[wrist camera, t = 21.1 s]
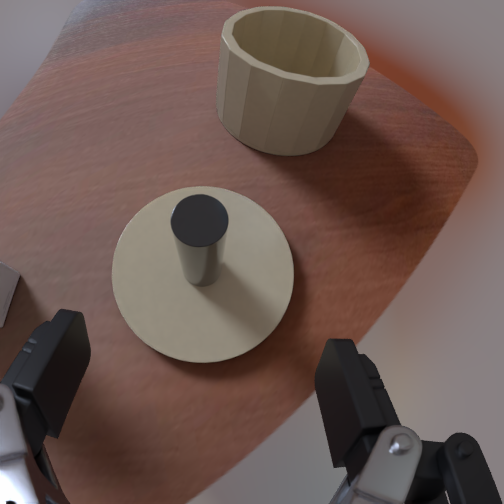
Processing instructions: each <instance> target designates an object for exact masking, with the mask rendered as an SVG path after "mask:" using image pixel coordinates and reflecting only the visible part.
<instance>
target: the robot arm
mask: <svg viewBox="0 0 504 504" xmlns="http://www.w3.org/2000/svg"><path fill="white" fill-rule="evenodd" d="M90 356H91V348H90V343H89V339H88V334H87V329H86V325H85V320H84V316H83V314H82V313H81V312H77V311H72V310H66V309H60V310H59V311H58V312H57V313H56V315H55V316H54V318H53V319H52V321H51V322H50V321H45V322H44V323H43V324H41V325H40V326H39V327H37V328H36V329H35V330H34V331H33V333H32V334H31V336H30V337H29V339H28V342H26V343H25V345H24V346H23V348H22V351H20V352H19V354H18V355H17V357H16V358H15V360H14V361H13V363H12V364H11V366H10V368H9V369H8V371H7V373H6V374H5V376H4V377H3V379H2V381H1V382H0V504H70V502H69V501H68V500H67V498H66V496H65V495H64V493H63V491H62V489H61V486H60V484H59V482H58V479H57V477H56V474H55V472H54V469H53V467H52V464H51V462H50V459H49V456H48V453H47V451H46V448H45V445H44V443H43V442H44V439H45V437H46V435H48V436H51V437H54V438H57V439H58V437H59V434H60V432H61V429H62V426H63V424H64V421H65V419H66V416H67V414H68V411H69V409H70V406H71V404H72V401H73V399H74V397H75V394H76V392H77V389H78V387H79V385H80V383H81V380H82V378H83V376H84V373H85V371H86V369H87V367H88V364H89V361H90ZM315 390H316V394H317V398H318V402H319V406H320V410H321V414H322V419H323V423H324V427H325V432H326V436H327V440H328V445H329V449H330V453H331V458H332V462H333V467H334V468H337V467H346V470H347V475H346V476H345V478H344V479H343V481H342V483H341V485H340V486H339V488H338V490H337V491H336V493H335V495H334V496H333V498H332V499H331V501H330V503H329V504H449V503H448V500H447V497H446V494H445V491H447V493H448V497H449V500H450V503H451V504H502V501H501V498H500V496H499V493H498V490H497V487H496V485H495V482H494V480H493V478H492V475H491V472H490V470H489V467H488V465H487V463H486V460H485V458H484V455H483V453H482V451H481V449H480V446H479V444H478V443H477V441H476V440H475V439H474V438H473V437H471V436H470V435H468V434H466V433H455V434H453V435H451V436H450V437H449V438H448V439H447V440H446V441H445V442H433V441H424V440H420V438H419V436H418V435H417V434H416V433H415V432H414V431H413V430H411V429H410V428H408V427H405V426H401V424H400V421H399V419H398V417H397V414H396V412H395V409H394V407H393V405H392V402H391V400H390V398H389V395H388V393H387V391H386V389H384V384H383V382H382V379H380V375H379V373H378V370H377V368H376V366H375V364H374V363H373V362H372V361H371V360H370V359H369V358H368V357H367V356H366V355H365V354H358V351H357V349H356V346H355V344H354V342H353V340H351V339H328V340H327V342H326V345H325V348H324V350H323V353H322V356H321V359H320V361H319V364H318V367H317V369H316V373H315Z"/></svg>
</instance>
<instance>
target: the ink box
mask: <svg viewBox="0 0 504 504" xmlns="http://www.w3.org/2000/svg"><path fill="white" fill-rule="evenodd" d="M19 277H20V273H19V272H18V271H16V270H14V269H12V268H11V267H9V266H7V265H6V264H4V263H3V262H1V261H0V327H3V325H4V322H5V318H6V315H7V312H8V309H9V306H10V303H11V300H12V296H13V294H14V291H15V288H16V285H17V282H18V280H19Z"/></svg>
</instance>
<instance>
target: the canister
mask: <svg viewBox="0 0 504 504" xmlns="http://www.w3.org/2000/svg"><path fill="white" fill-rule="evenodd" d="M369 65H370V62H369V59H368V56H367V53H366V51H365V48H364V47H363V46H362V45H361V44H360V42H359V41H357V39H356V38H355V37H354V36H353V35H352V34H351V33H349V32H348V31H346V30H345V29H343V28H341V27H340V26H339V25H337V24H336V23H334V22H332V21H330V20H328V19H326V18H323V17H321V16H318V15H316V14H313V13H310V12H306V11H302V10H297V9H292V8H286V7H256V8H252V9H248V10H243V11H240V12H238V13H236V14H235V15H234V16H232V17H231V18H229V19H228V20H226V22H225V24H224V27H223V30H222V34H221V43H220V55H219V67H218V80H217V93H216V107H217V113H218V116H219V119H220V121H221V123H222V124H223V126H224V127H225V128H226V130H227V131H228V132H229V133H230V134H231V135H233V136H234V137H235V138H236V139H237V140H239V141H240V142H242V143H244V144H245V145H247V146H249V147H251V148H254V149H256V150H259V151H262V152H265V153H269V154H274V155H282V156H297V155H304V154H308V153H311V152H314V151H317V150H318V149H320V148H322V147H323V146H325V145H326V144H327V143H328V142H329V141H330V140H331V139H332V137H333V136H334V134H335V132H336V130H337V128H338V126H339V124H340V122H341V121H342V119H343V117H344V115H345V113H346V111H347V109H348V107H349V105H350V103H351V102H352V100H353V98H354V96H355V94H356V92H357V90H358V88H359V86H360V84H361V82H362V81H363V79H364V77H365V74H366V72H367V70H368V68H369Z"/></svg>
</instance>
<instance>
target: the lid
mask: <svg viewBox="0 0 504 504" xmlns="http://www.w3.org/2000/svg"><path fill="white" fill-rule="evenodd" d="M293 282H294V265H293V260H292V254H291V251H290V248H289V245H288V242H287V240H286V238H285V236H284V234H283V232H282V230H281V229H280V227H279V226H278V224H277V223H276V222H275V220H274V219H273V218H272V217H271V216H270V215H269V214H268V213H267V212H266V211H265V210H264V209H263V208H262V207H261V206H259V205H258V204H257V203H255V202H254V201H252V200H250V199H249V198H247V197H245V196H243V195H241V194H238V193H236V192H233V191H230V190H227V189H223V188H217V187H206V186H199V187H188V188H183V189H179V190H175V191H172V192H169V193H167V194H165V195H163V196H160V197H158V198H157V199H155V200H153V201H152V202H150V203H149V204H148V205H146V206H145V207H144V208H142V209H141V210H140V211H139V212H138V213H137V214H136V215H135V216H134V217H133V218H132V220H131V221H130V222H129V224H128V225H127V226H126V228H125V230H124V231H123V233H122V235H121V237H120V239H119V242H118V244H117V246H116V250H115V254H114V257H113V265H112V285H113V291H114V296H115V299H116V302H117V305H118V308H119V310H120V312H121V314H122V316H123V318H124V319H125V321H126V322H127V324H128V326H129V327H130V328H131V329H132V330H133V332H134V333H135V334H136V335H137V336H138V337H139V338H140V339H141V340H142V341H144V342H145V343H146V344H147V345H149V346H150V347H152V348H153V349H155V350H156V351H158V352H160V353H162V354H164V355H166V356H169V357H172V358H175V359H178V360H182V361H187V362H194V363H210V362H219V361H223V360H228V359H231V358H234V357H237V356H239V355H242V354H244V353H246V352H247V351H249V350H251V349H253V348H254V347H256V346H257V345H258V344H260V343H261V342H262V341H264V340H265V339H266V338H267V337H268V336H269V335H270V334H271V333H272V332H273V330H274V329H275V328H276V326H277V325H278V324H279V322H280V321H281V319H282V317H283V315H284V314H285V312H286V310H287V307H288V304H289V302H290V299H291V295H292V290H293Z"/></svg>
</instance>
